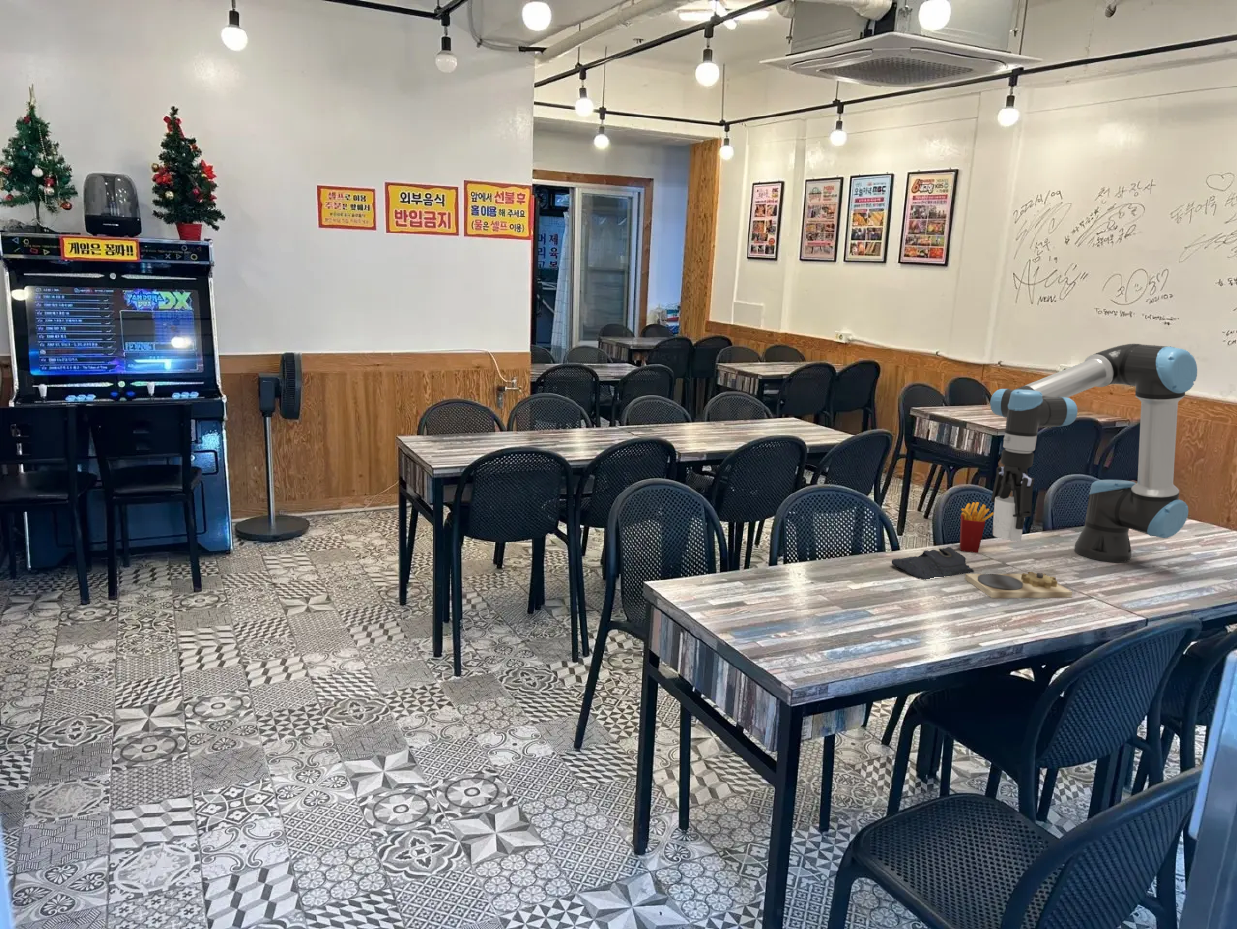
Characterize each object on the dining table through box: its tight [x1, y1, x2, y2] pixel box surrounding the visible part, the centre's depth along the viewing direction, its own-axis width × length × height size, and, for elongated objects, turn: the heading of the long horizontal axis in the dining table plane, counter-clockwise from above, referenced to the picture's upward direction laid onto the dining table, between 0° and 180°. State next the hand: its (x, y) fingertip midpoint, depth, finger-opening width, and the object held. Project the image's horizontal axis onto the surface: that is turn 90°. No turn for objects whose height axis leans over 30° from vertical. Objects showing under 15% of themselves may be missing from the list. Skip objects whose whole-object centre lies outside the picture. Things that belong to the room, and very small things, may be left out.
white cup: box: [992, 495, 1026, 541], centre depth 227 cm, size 8×8×10 cm
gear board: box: [964, 571, 1073, 599], centre depth 232 cm, size 22×14×4 cm, turn 96°
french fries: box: [959, 501, 994, 554], centre depth 263 cm, size 9×8×15 cm
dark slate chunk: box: [891, 546, 975, 580], centre depth 246 cm, size 15×22×5 cm
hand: (1006, 535), depth 228 cm, fingers closed on white cup, 8 cm apart
